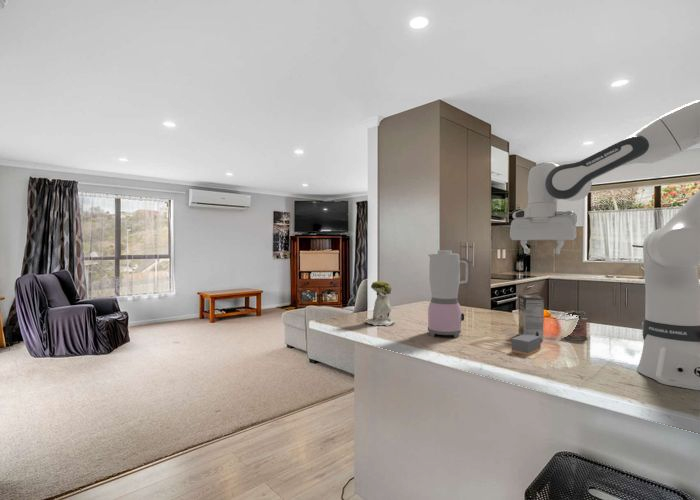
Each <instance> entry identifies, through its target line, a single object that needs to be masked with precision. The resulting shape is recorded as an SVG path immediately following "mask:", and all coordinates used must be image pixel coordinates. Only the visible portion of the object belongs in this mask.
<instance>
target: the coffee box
mask: <svg viewBox="0 0 700 500" xmlns="http://www.w3.org/2000/svg"><path fill="white" fill-rule="evenodd" d="M544 309H545V298H543V297H541V296H540V295H538V294H518V336H520V335H523V334H528V335H534V336H540V337H541V342H543V341H544V317H545V314H544V311H545V310H544Z"/></svg>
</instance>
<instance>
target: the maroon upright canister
mask: <svg viewBox="0 0 700 500" xmlns="http://www.w3.org/2000/svg"><path fill="white" fill-rule="evenodd" d="M566 313H568V314H566ZM570 314H572V316H573V315H577V316H576V317H578V318H579V320H578V322H577V325H576V327H575V329H574V330H573V332H572V333H571V334H570V335H568V336H567V337H564V338H563V340H573V341H575V340H576V341H587V340H588V336H587V335H588V333H587V331H588V330H587V329H588V318H586V317H582V316H586V312H585V311H575V310H571V311H565V315H569V316H570Z"/></svg>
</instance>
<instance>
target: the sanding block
mask: <svg viewBox="0 0 700 500" xmlns="http://www.w3.org/2000/svg"><path fill="white" fill-rule="evenodd" d="M511 342H512V352H516V353H520V354H525V355H530V354H532V353H534V352H536V351H538V350H541V348H542V347H541V346H542V345H541V343H542V341H541V337H540V336H534V335H528V334H523V335H517V336H515V337H513V338H511Z"/></svg>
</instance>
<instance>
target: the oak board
mask: <svg viewBox="0 0 700 500" xmlns="http://www.w3.org/2000/svg"><path fill="white" fill-rule="evenodd" d="M464 345H469V346H474V347H477V348H482V349H487V350H491V351H495V352H499V353H505V354H510V355H513V356H519V357H522V358H527V359H531V360H535V359H536V358H538V357H541V356H542V355H544V354H546V353H549V352H550V351H552V349H551V348H550V349H549V348H546V347H541V350H538V351H536V352H534V353H532V354H530V355H525V354H520V353H516V352H512V340H511V341H509V340H505V339H500V338H496V337H490V336H484V337H481V338H478V339H474V340H470V341H468V342H465V343H464Z"/></svg>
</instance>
